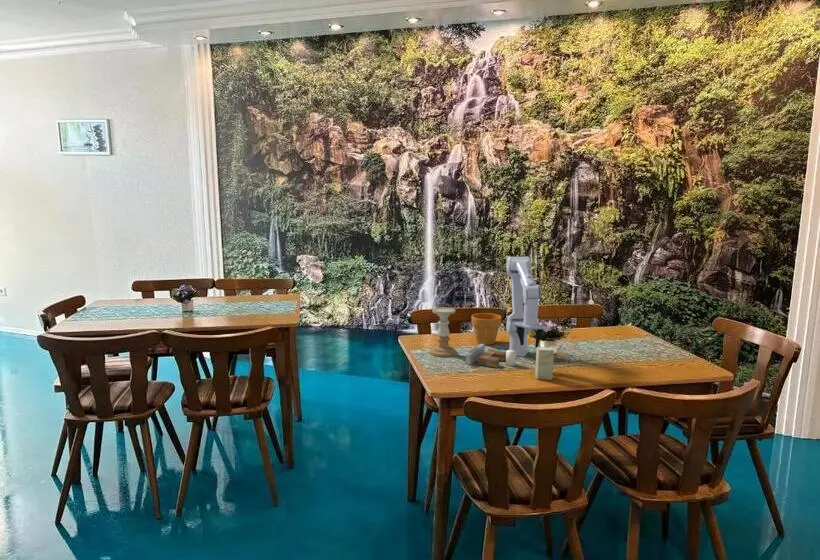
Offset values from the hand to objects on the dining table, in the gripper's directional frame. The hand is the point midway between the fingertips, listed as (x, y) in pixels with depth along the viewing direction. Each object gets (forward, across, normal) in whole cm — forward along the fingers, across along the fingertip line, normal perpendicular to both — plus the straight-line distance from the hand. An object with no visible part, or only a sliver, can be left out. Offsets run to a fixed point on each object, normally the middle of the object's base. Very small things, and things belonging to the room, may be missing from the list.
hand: (529, 345), depth 247 cm
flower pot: (+10, -29, +28) cm, 41 cm away
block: (+9, -16, 0) cm, 19 cm away
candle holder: (+10, -40, +2) cm, 41 cm away
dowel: (+9, -8, 0) cm, 12 cm away
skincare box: (+10, +9, -10) cm, 17 cm away
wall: (+9, -24, 0) cm, 26 cm away
